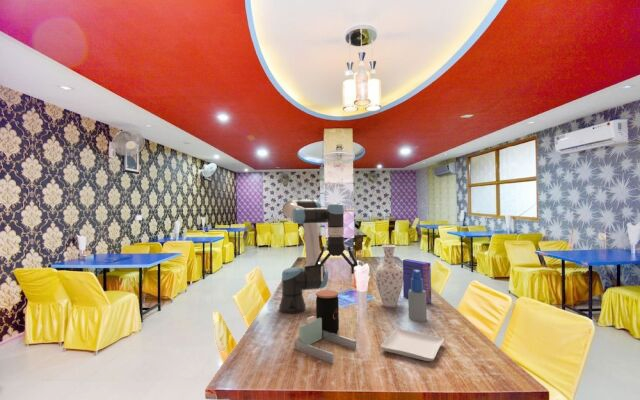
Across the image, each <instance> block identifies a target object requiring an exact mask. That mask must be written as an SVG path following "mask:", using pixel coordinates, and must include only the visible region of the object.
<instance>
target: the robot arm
mask: <svg viewBox="0 0 640 400" xmlns="http://www.w3.org/2000/svg"><path fill="white" fill-rule="evenodd" d="M282 214H283V215H284V216H285V217H286V218H288V219H292V222H293V223H294V224H301V225H302V224H303V233H304V234H303V235H304V244H305V247H304V248H305V260H306V263H305V265H304V266H303V268H304V269H303V268H302V267H301V266H292V267H288V268H285V269H284V270H283V271H282V273H281V299H280V303H279V306H278V309H279V311H280V312H281V313H284V314H297V313H302V312H304V311H305V310H306V307H307V306H306V302H305V299H304V296H303V291H309V290H319V289H324V288H325V287H326V286H327V284H328V282H329V281H328V280H329V271H328V269H327V268H326V267H325V265H324V264H325V262H326V261H327V260H328V259H329V258H330V257H331V256H333V257H339V256H341V257H343V260H345V261H346V262H347V264H349V282H350V283H351V282H352V281H353V279H352V278H353V277H352V275H354V274H355V267H358V265H359V264H358V262H357V260H356V258H355V256H354V254H353V252H352V250H351V245H348V246H344V245H345V241H344V240H345V237H344V235H345V234H344V230H345V229H344V227H345V226H344V205H343V204H342V203H329V204H328V205H327V207H322V205H321V202H320V201H319V200H318V199H311V198H310V199H292V200H288V201H286V202H285V203H284V204H283V206H282ZM322 223H327V235H328V236H327V246H325V245H322V246H321V248H320V236H319V227H318V225H319V224H322ZM345 250H346V252H348V254H349V256H350V257H351V258H350V259H349V257H348V256H347V255H346V254H345V253H344V252H345ZM326 251H328V252H327V254H326V255H325V257H324V258H323V259H322V256H323V254H324V252H326ZM351 259H352V261H351Z"/></svg>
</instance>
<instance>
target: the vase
mask: <svg viewBox="0 0 640 400" xmlns="http://www.w3.org/2000/svg"><path fill="white" fill-rule="evenodd" d="M380 247H381V248H382V249H383V253H384V258H383V262H382V263H381V264H380V265H378V266H377V268H376V269H375V281H376V288H377V290H378V295H379V297H380V299H381V302H382V306H383V307H386V308H396V307H398V302H399V299H400V295H401V292H402V290H403V268H402V267H401V266H400V265H398V264H396V262H395V259H394V252H395V251H394V250H395V248H396V247H397V245H394V244H392V245H391V244H384V245H381V246H380Z"/></svg>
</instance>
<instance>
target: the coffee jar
mask: <svg viewBox="0 0 640 400" xmlns="http://www.w3.org/2000/svg"><path fill="white" fill-rule="evenodd" d="M315 293H316V294H315V296H316V298H315V311H316V312H315V313H316V314H315V319H318V318H322V330H325V331H328V332H331V333H334V334H337V333H338V331H339V330H340V326H339V325H340V318H339V317H340V316H339V314H340V313H339V292H338V291H335V290H331V289H328V290H327V289H325V290H319V291H316V292H315Z"/></svg>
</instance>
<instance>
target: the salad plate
mask: <svg viewBox="0 0 640 400" xmlns="http://www.w3.org/2000/svg"><path fill="white" fill-rule="evenodd" d="M444 341H445V338H444V337H440V336H436V335H431V334H428V333H422V332H418V331H414V330H413V331H412V330H409V329H408V330H407V329H404V328H403V329H402V328H395V329H394V330H393V332H392V333H391V334H390V335H389V336H387V338H386V339H385V340H383V342H382V343H381V344H380V345H379V347H380V348H381V349H382V350H383V351H386V352H388V353H392V354H396V355H399V356H403V357H406V358H407V357H409V358H411V359H416V360H421V361H423V362H432V361H434V360H435V358H436V356H437V353H438V352H439V350H440V348H441V346H442V344H443V343H444Z"/></svg>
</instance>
